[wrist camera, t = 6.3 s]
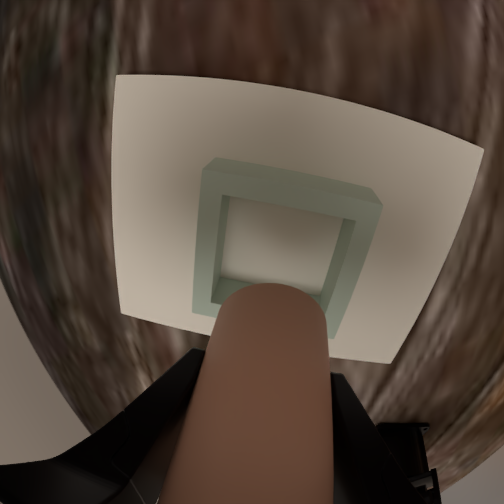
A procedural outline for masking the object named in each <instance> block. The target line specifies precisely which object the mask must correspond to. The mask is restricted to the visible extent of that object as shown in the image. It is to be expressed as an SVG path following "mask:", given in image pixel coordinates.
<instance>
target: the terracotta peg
mask: <svg viewBox="0 0 504 504" xmlns="http://www.w3.org/2000/svg"><path fill="white" fill-rule="evenodd" d="M333 492H334V464H333V420H332V396H331V377H330V362H329V348H328V335H327V323H326V318H325V315H324V312H323V310H322V308H321V307H320V305H319V304H318V303H317V302H316V301H315V300H314V299H313V298H312V297H311V296H309V295H308V294H306V293H305V292H303V291H301V290H299V289H297V288H294V287H292V286H288V285H284V284H278V283H259V284H254V285H250V286H247V287H244V288H242V289H239V290H237V291H236V292H234V293H233V294H231V295H230V296H229V297H228V298H227V299H226V300H225V301H224V302H223V304H222V306H221V307H220V310H219V312H218V315H217V318H216V321H215V324H214V327H213V330H212V333H211V336H210V339H209V342H208V346H207V349H206V352H205V355H204V358H203V361H202V364H201V367H200V370H199V373H198V377H197V380H196V383H195V386H194V389H193V392H192V395H191V398H190V401H189V404H188V407H187V410H186V414H185V417H184V420H183V423H182V426H181V429H180V432H179V436H178V439H177V442H176V445H175V448H174V451H173V455H172V458H171V461H170V464H169V467H168V471H167V474H166V477H165V480H164V483H163V487H162V490H161V493H160V496H159V500H158V503H157V504H333Z"/></svg>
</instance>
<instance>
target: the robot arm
mask: <svg viewBox="0 0 504 504" xmlns="http://www.w3.org/2000/svg"><path fill="white" fill-rule="evenodd" d="M204 355H205V350H203V349H199V348H195V347H193V348H191V349H190V350H189V351H188V352H187V353H186V354H185V355H183V356H182V357H181V358H180V359H179V360H178V361H177V362H176V363H175V364H174V365H173V366H171V367H170V368H169V369H168V370H167V371H166V372H165V373H164V374H163V375H162V376H160V377H159V378H158V379H157V380H156V381H155V382H154V383H153V384H152V385H151V386H149V387H148V388H147V389H146V390H145V391H144V392H143V393H142V394H141V395H139V396H138V397H137V398H136V399H135V400H134V401H133V402H132V403H130V404H129V405H128V406H127V407H126V408H125V409H124V411H121V412H120V413H119V414H118V415H117V416H116V417H114V418H113V419H112V420H111V421H110V422H108V423H107V424H106V425H105V426H103V427H102V428H101V429H99V430H98V431H96V432H95V433H93V434H92V435H90V436H89V437H87V438H86V439H84V440H83V441H82V442H80V443H78V444H77V445H75V446H73V447H72V448H70V449H69V450H67V451H65V452H64V453H62V454H60V455H58V456H56V457H53V458H51V459H47V460H42V461H34V462H26V463H18V464H8V465H0V504H155V503H156V502H157V499H158V497H159V494H160V492H161V489H162V487H163V483H164V480H165V477H166V474H167V471H168V467H169V464H170V461H171V458H172V455H173V451H174V448H175V445H176V442H177V439H178V436H179V432H180V429H181V426H182V423H183V420H184V417H185V414H186V410H187V407H188V404H189V401H190V398H191V395H192V392H193V389H194V386H195V383H196V380H197V377H198V373H199V370H200V367H201V364H202V361H203V358H204ZM330 377H331V396H332V420H333V464H334V492H333V504H442V502H441V495H440V488H439V482H438V476H437V471H436V468H434V469H431V471H429V467H428V462H427V456H426V451H425V446H424V441H423V435H424V434H425V433H426V432H427V431H428V430H429V428H430V426H429V424H380V425H378V426H377V427H375V425H374V424H373V422H372V420H371V419H370V417H369V416H368V414H367V412H366V411H365V409H364V407H363V406H362V404H361V402H360V401H359V399H358V398H357V396H356V394H355V393H354V391H353V389H352V388H351V386H350V385H349V383H348V381H347V380H346V378H345V376H344V375H343V374H341V373H334V372H331V373H330ZM431 486H433V488H432V489H429V490H427V488H428V487H431Z"/></svg>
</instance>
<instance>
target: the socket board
mask: <svg viewBox="0 0 504 504" xmlns="http://www.w3.org/2000/svg"><path fill="white" fill-rule="evenodd" d="M483 153H484V149H482V148H480V147H478V146H476V145H474V144H471V143H469V142H467V141H464V140H462V139H460V138H457V137H455V136H452V135H450V134H447V133H445V132H442V131H440V130H437V129H434V128H432V127H429V126H426V125H424V124H421V123H418V122H415V121H412V120H409V119H406V118H403V117H400V116H397V115H394V114H391V113H388V112H384V111H381V110H378V109H374V108H371V107H367V106H363V105H360V104H356V103H352V102H348V101H344V100H340V99H336V98H332V97H328V96H323V95H319V94H314V93H309V92H304V91H299V90H294V89H289V88H283V87H277V86H271V85H265V84H258V83H251V82H243V81H235V80H226V79H216V78H205V77H191V76H172V75H116V83H115V95H114V109H113V127H112V170H111V172H112V216H113V235H114V250H115V262H116V273H117V282H118V291H119V299H120V307H121V313H122V314H126V315H129V316H133V317H136V318H140V319H144V320H148V321H152V322H155V323H159V324H163V325H167V326H171V327H175V328H179V329H184V330H188V331H192V332H197V333H201V334H205V335H210V336H211V333H212V330H213V327H214V324H215V321H216V318H217V315H218V312H219V310H220V307H221V306H222V304H223V302H224V301H225V300H226V299H227V298H228V297H229V296H230V295H231V294H233V293H234V292H236V291H237V290H239V289H242V288H244V287H247V286H250V285H254V284H259V283H278V284H284V285H288V286H292V287H294V288H297V289H299V290H301V291H303V292H305V293H306V294H308V295H309V296H311V297H312V298H313V299H314V300H315V301H316V302H317V303H318V304H319V305H320V307H321V308H322V310H323V312H324V315H325V318H326V323H327V335H328V348H329V357H334V358H342V359H350V360H358V361H367V362H376V363H386V364H391V362H392V360H393V359H394V357H395V355H396V354H397V352H398V350H399V349H400V347H401V345H402V344H403V342H404V340H405V339H406V337H407V335H408V333H409V332H410V330H411V328H412V326H413V324H414V323H415V321H416V319H417V317H418V315H419V313H420V311H421V309H422V308H423V306H424V304H425V302H426V300H427V298H428V296H429V294H430V292H431V290H432V288H433V286H434V284H435V281H436V279H437V277H438V275H439V273H440V271H441V269H442V266H443V264H444V262H445V260H446V257H447V255H448V253H449V250H450V248H451V246H452V243H453V241H454V238H455V236H456V233H457V231H458V228H459V226H460V223H461V220H462V218H463V215H464V212H465V210H466V207H467V204H468V201H469V198H470V195H471V192H472V189H473V186H474V183H475V180H476V177H477V173H478V170H479V167H480V163H481V160H482V156H483Z"/></svg>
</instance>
